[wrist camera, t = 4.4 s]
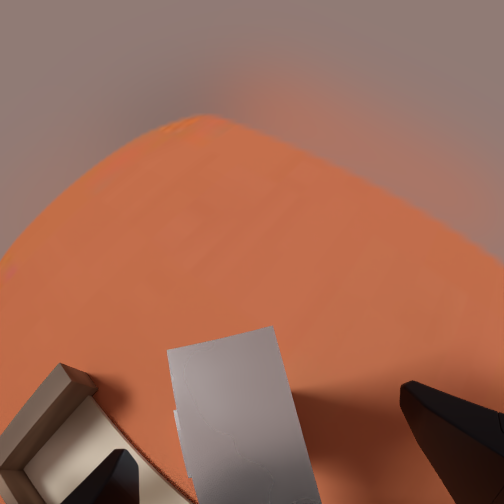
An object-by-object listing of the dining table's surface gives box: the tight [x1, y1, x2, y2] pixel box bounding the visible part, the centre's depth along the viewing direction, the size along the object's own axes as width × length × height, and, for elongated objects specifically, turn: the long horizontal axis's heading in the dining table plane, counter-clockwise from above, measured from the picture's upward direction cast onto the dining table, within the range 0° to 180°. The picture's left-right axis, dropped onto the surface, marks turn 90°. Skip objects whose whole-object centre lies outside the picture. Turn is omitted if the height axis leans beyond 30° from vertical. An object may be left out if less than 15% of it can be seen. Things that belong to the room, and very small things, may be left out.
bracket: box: [167, 326, 322, 504], centre depth 10 cm, size 4×6×12 cm, turn 103°
